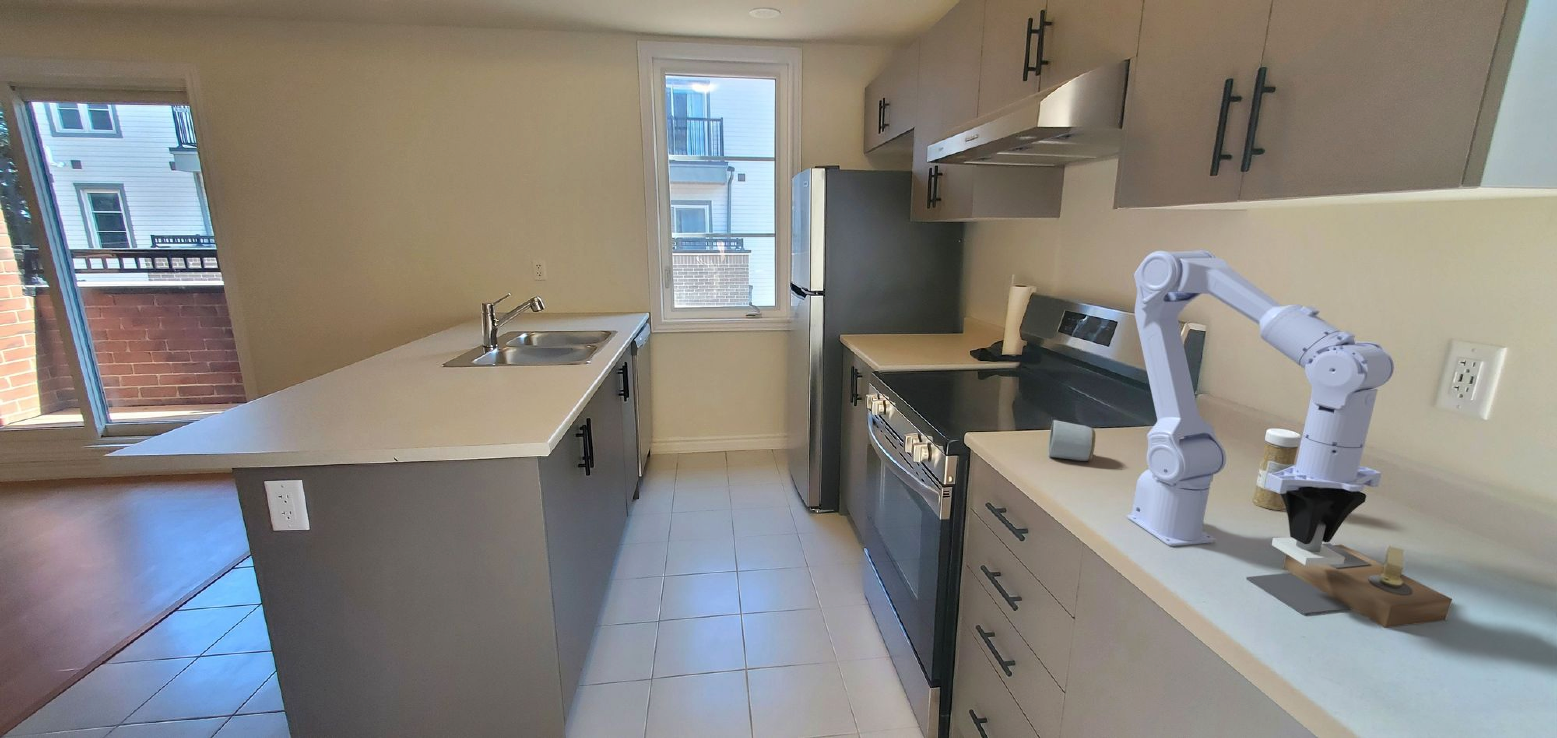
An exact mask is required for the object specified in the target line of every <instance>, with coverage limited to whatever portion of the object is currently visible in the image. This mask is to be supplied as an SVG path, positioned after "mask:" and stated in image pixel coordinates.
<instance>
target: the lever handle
mask: <svg viewBox="0 0 1557 738" xmlns="http://www.w3.org/2000/svg"><path fill="white" fill-rule="evenodd" d="M1383 565H1384V569H1383V574H1381V575H1380V579H1379V581H1380V582H1381V583H1382V584H1384V585H1386V586H1389V587H1393V588H1401V586H1402V582H1403V580H1402V579H1400V577H1401V574H1402V572H1403V569H1404V549H1403V548H1399V547H1395V546H1391V545H1389V546H1388V548H1387V551H1386V555H1385V559H1384V563H1383Z"/></svg>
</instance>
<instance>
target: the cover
mask: <svg viewBox="0 0 1557 738" xmlns="http://www.w3.org/2000/svg"><path fill="white" fill-rule="evenodd" d="M1325 527H1326V525H1325V524H1324V523H1323V522H1320V521H1319V523H1318V526H1317V529H1316V532H1315V535H1314V537H1313V539H1312V541H1311V542H1310V544H1303V543H1301V542H1299V541H1298V540H1296V539H1294V538H1292V537H1274V538H1272V541H1271V542H1272V543H1271V546H1272V547H1274V548H1276V549H1278V550H1279V551H1281V552H1282V553H1284V554H1285V555H1286V554H1287V555H1289V556H1291V557H1292V558H1294V559H1296V560H1297V561H1299V562H1301V563H1302V564H1304V565H1336V564H1343V563H1344V559H1345V557H1344V556H1342V555H1340V554H1338V553H1336V552H1335V551H1333V550H1331V549H1329V548H1327V547H1326V546H1324V545H1322V544H1323V541H1322V540H1323V536H1324V532H1325Z"/></svg>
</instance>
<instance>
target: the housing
mask: <svg viewBox="0 0 1557 738" xmlns="http://www.w3.org/2000/svg"><path fill="white" fill-rule="evenodd" d="M1322 545H1324V546H1326V547H1327V548H1329V549H1331V550H1333V551H1335V552H1336V553H1338V554H1340V555H1342V556H1344V557H1345V559H1344V563H1343V564H1336V565H1304V564H1302V563H1301V562H1299V561H1297V560H1296V559H1294V558H1292V557H1291V556H1289V555H1287V554H1286V553H1285V558H1284V560H1283V561H1284V562H1283V566H1282V569H1284V570H1285V571H1287V573H1292V574H1293V575H1295V576H1297V577H1299V578H1300V579H1302V580H1304V581H1306V582H1307V583H1309V584H1311V585H1313V586H1314V587H1316V588H1318V589H1319V590H1321V591H1323V592H1325V593H1326V594H1328V595H1330V596H1332V597H1333V598H1335V599H1337V600H1338V601H1340V602H1342V603H1344V604H1345V605H1347V606H1349V607H1351V610H1354V611H1356V612H1357V613H1358V614H1361V615H1363V616H1365V617H1366V618H1368V619H1370V620H1371V621H1373V622H1375V623H1377V624H1378V625H1380V626H1382V627H1383V628H1391V627H1400V626H1401V627H1402V626H1408V625H1409V626H1410V625H1416V624H1427V623H1434V622H1444V621H1447V618H1448V614H1449V611H1450V608H1451V605H1452V602H1453V598H1452V597H1449V596H1447V595H1444V594H1443V593H1441V592H1439V591H1437V590H1435V589H1434V588H1432V587H1431V588H1430V587H1429V586H1426V585H1424V584H1422V583H1421V582H1418V581H1416V580H1415V579H1412V578H1410V577H1408V576H1406V575H1405V574H1402V573H1401V577H1400V579H1402V580H1403V582H1402V586H1401V588H1393V587H1389V586H1386V585H1384V584H1382V583H1381V582H1380V581H1379V579H1380V575H1381V574H1383V569H1384V564H1382V563H1380V562H1378V561H1376V560H1374V559H1372V558H1369V556H1368V557H1367V556H1366V555H1364V554H1361V553H1359V552H1358V551H1356V550H1353V549H1351V548H1349V547H1348V546H1345V545H1343V544H1332V543H1330V542H1326V543H1322Z"/></svg>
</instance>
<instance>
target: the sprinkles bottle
mask: <svg viewBox="0 0 1557 738" xmlns="http://www.w3.org/2000/svg"><path fill="white" fill-rule="evenodd" d="M1301 439H1302V436H1301V434H1300V433H1298V432H1296V431H1292V430H1291V429H1290V430H1288V429H1283V428H1269V429H1267V430H1266V433H1265V438H1264V440H1265V441H1264V443H1265V445H1264V448H1263V453H1262V458H1261V461H1260V463H1259V464H1260V465H1259V469H1258V473H1257V479H1256V483H1255V484H1256V485H1255V491H1254V496H1253V497H1252V502H1253V503H1254V504H1255V505H1256V506H1259V507H1260V508H1261V507H1262V508H1265V509H1269V510H1274V511H1281V510H1285V509H1286V507H1285V504H1284V501H1283V499H1282V497H1281V494H1279V493H1277V492H1274V491H1272V490H1270V489H1268V488H1266V487H1265V485H1266V480H1267V476H1268V473H1275V472H1279V471H1281V470H1284V469H1287V468H1289V467H1292V466H1294V465H1295V459H1296V455H1297V451H1298V449H1299V447H1300V444H1301Z"/></svg>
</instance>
